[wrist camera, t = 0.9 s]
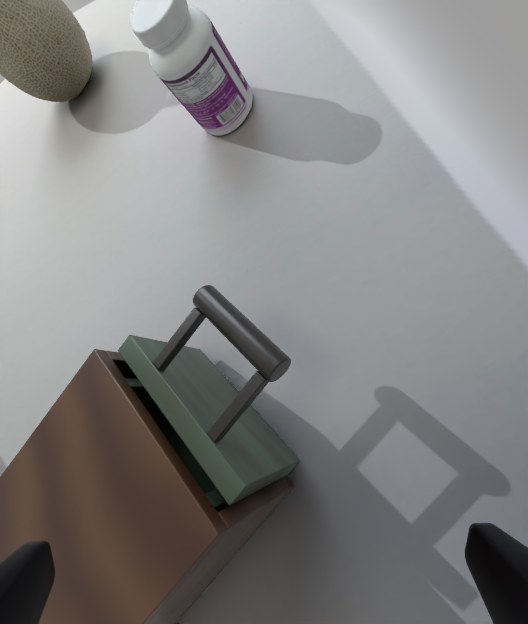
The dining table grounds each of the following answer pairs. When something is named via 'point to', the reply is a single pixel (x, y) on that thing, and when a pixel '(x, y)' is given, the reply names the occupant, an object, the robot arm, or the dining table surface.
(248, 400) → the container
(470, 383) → the dining table surface
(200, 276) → the dining table surface
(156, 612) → the storage unit
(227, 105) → the pill bottle
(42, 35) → the fruit
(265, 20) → the dining table surface
